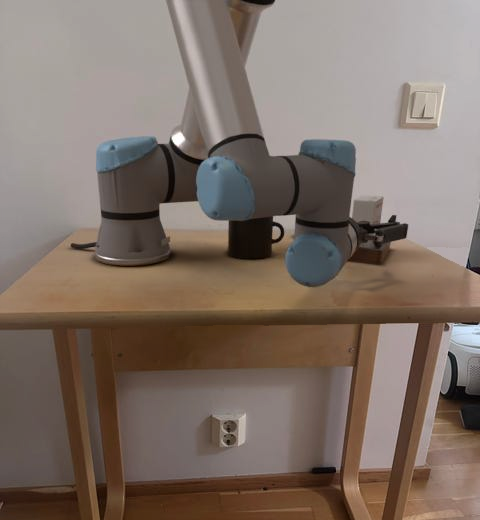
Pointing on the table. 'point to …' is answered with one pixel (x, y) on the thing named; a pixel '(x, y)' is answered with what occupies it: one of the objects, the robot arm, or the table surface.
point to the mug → (252, 237)
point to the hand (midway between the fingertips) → (358, 218)
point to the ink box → (368, 213)
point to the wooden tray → (371, 254)
